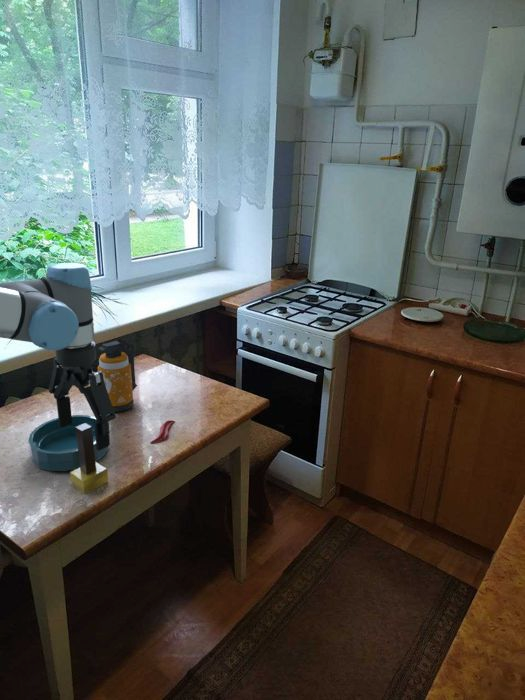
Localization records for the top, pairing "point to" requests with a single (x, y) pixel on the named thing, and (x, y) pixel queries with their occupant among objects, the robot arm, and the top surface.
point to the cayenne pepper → (163, 431)
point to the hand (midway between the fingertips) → (83, 436)
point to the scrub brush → (87, 463)
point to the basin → (60, 444)
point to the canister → (118, 373)
